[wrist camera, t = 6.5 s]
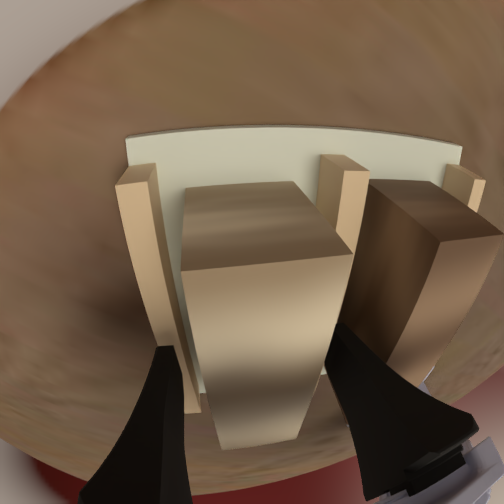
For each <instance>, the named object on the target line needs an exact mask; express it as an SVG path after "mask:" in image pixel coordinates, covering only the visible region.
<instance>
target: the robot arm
mask: <svg viewBox="0 0 504 504" xmlns="http://www.w3.org/2000/svg"><path fill="white" fill-rule="evenodd" d="M324 364H325V367H326V370H327V374H328V377H329V379H330V381H331V384H332V386H333V388H334V391H335V393H336V395H337V397H338V400H339V402H340V404H341V407H342V409H343V411H344V414H345V416H346V419H347V421H348V424H349V425H347V427H349V428H350V431H351V434H352V438H353V442H354V446H355V449H356V453H357V458H358V463H359V467H360V472H361V478H362V485H363V493H364V496H365V499H366V501H369V500H371V499H374V498H376V497H379V501H378V502H376V503H374V504H487V503H488V501H489V499H490V493H491V488H490V487H491V486H492V485H493V484H495V483H496V482H497V481H498V480H499V479H500V478H501V477H502V476H503V475H504V464H503V462H502V460H501V457H500V455H499V453H498V451H497V449H496V447H495V445H494V443H493V441H492V439H491V437H487V438H486V439H485V440H483V441H482V442H481V443H479V444H478V445H477V446H475V447H473V445H472V443H471V442H470V440H468V439H469V438H470V437H471V436H473V435H474V434H475V433H476V432H478V430H479V427H478V425H477V423H476V421H475V420H474V418H473V416H472V415H471V414H469V413H467V412H464V411H461V410H459V409H456V408H454V407H451V406H449V405H447V404H445V403H443V402H441V401H439V400H437V399H435V398H434V397H432V396H431V394H430V393H429V391H428V389H427V387H426V386H425V384H424V380H425V379H426V378H427V376H428V375H429V374H430V372H431V371H432V370H433V368H434V367H433V368H432V369H431V371H430V372H429V373H428V375H427V376H426V378H425V379H424V380H423V381H422V383H421V384H420V385H419V387H418V388H417V387H415V386H414V385H412V384H411V383H410V382H408V381H407V380H405V379H404V378H403V377H401V376H400V375H399V374H398V373H396V372H395V371H394V370H393V369H392V368H390V367H389V366H388V365H387V364H386V363H385V362H384V361H382V360H381V359H380V358H379V357H378V356H377V355H376V354H375V353H374V352H373V351H372V350H371V349H370V348H369V347H368V346H367V345H366V344H365V343H364V342H363V341H362V340H361V339H360V338H359V337H358V336H357V335H356V334H355V333H354V332H353V331H352V330H351V329H350V328H349V327H348V326H347V325H346V324H345V323H344V322H343V323H338V324H336V325H335V328H334V332H333V335H332V338H331V342H330V345H329V348H328V351H327V355H326V358H325V361H324ZM78 504H193V502H192V497H191V491H190V486H189V480H188V473H187V466H186V459H185V450H184V387H183V375H182V371H181V368H180V365H179V362H178V358H177V355H176V352H175V349H174V345H167V346H158V347H157V348H156V351H155V355H154V358H153V362H152V365H151V368H150V371H149V373H148V376H147V379H146V382H145V384H144V387H143V389H142V392H141V394H140V397H139V399H138V401H137V404H136V406H135V408H134V410H133V413H132V415H131V417H130V419H129V421H128V423H127V425H126V426H125V428H124V430H123V432H122V434H121V436H120V437H119V439H118V441H117V442H116V444H115V446H114V447H113V449H112V450H111V452H110V453H109V455H108V456H107V458H106V459H105V461H104V462H103V463H102V465H101V466H100V467H99V469H98V470H97V472H96V473H95V474H94V475H93V477H92V478H91V479H90V480H89V481H88V482H87V484H86V485H85V486H84V487H83V488H82V489H81V491H80V492H79V497H78Z"/></svg>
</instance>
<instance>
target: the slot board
mask: <svg viewBox="0 0 504 504" xmlns="http://www.w3.org/2000/svg"><path fill="white" fill-rule="evenodd" d="M125 140H126V148H127V156H128V164H129V167H128V168H127V169H126V171H125V172H124V174H123V175H122V176H121V178H120V179H119V181H118V182H117V184H116V185H115V188H116V193H117V199H118V204H119V209H120V213H121V218H122V223H123V227H124V232H125V236H126V240H127V244H128V248H129V252H130V256H131V260H132V264H133V268H134V271H135V275H136V279H137V282H138V286H139V289H140V292H141V296H142V299H143V302H144V306H145V309H146V312H147V315H148V318H149V321H150V324H151V327H152V330H153V333H154V336H155V339H156V342H157V345H158V346H167V345H174V349H175V352H176V355H177V358H178V362H179V365H180V368H181V371H182V375H183V387H184V412H185V414H187V413H201V404H200V393H206V390H205V386H204V382H203V378H202V374H201V370H200V366H199V361H198V357H197V352H196V348H195V343H194V339H193V334H192V329H191V325H190V320H189V315H188V310H187V304H186V299H185V294H184V288H183V283H182V277H181V249H182V231H183V216H184V202H185V190H186V188H188V187H200V186H212V185H225V184H240V183H257V182H279V181H294V182H295V183H296V185H297V186H298V187H299V188H300V189H301V190H302V191H303V193H304V194H305V195H306V196H307V197H308V198H309V200H310V201H311V202H312V203H313V204H314V206H315V207H316V208H317V209H318V210H319V212H320V213H321V214H322V215H323V216H324V218H325V219H326V220H327V221H328V222H329V224H330V225H331V226H332V227H333V229H334V230H335V231H336V232H337V234H338V235H339V236H340V237H341V239H342V240H343V241H344V242H345V244H346V245H347V246H348V247H349V249H350V250H351V251H352V253H353V254H354V255H355V250H356V246H357V241H358V237H359V232H360V227H361V222H362V217H363V211H364V206H365V201H366V195H367V189H368V183H369V179H396V180H418V181H430V182H432V183H434V184H435V185H437V186H438V187H440V188H441V189H443V190H445V191H446V192H448V193H449V194H451V195H452V196H454V197H455V198H456V199H458V200H459V201H461V202H462V203H464V204H465V205H467V206H468V207H469V208H471V209H472V210H473V211H475V212H476V213H477V210H478V207H479V204H480V200H481V197H482V193H483V189H484V186H485V182H486V180H484V179H483V178H481V177H479V176H478V175H476V174H474V173H472V172H471V171H469V170H467V169H465V168H463V167H461V166H460V165H459V162H460V157H461V152H462V146H460V145H457V144H455V143H451V142H446V141H441V140H436V139H430V138H425V137H419V136H412V135H406V134H399V133H392V132H384V131H375V130H366V129H355V128H343V127H328V126H307V125H238V126H217V127H202V128H190V129H179V130H169V131H161V132H153V133H145V134H138V135H131V136H128V137H127V138H126V139H125ZM354 255H353V259H354ZM353 259H352V264H353ZM352 264H351V268H352ZM351 268H350V272H351ZM350 272H349V276H350ZM349 276H348V280H349ZM348 280H347V284H348ZM347 284H346V288H347ZM346 288H345V292H346ZM345 292H344V296H345ZM344 296H343V299H344ZM342 303H343V300H342ZM342 303H341V307H342ZM341 307H340V310H341ZM339 314H340V311H339ZM339 314H338V317H339ZM337 321H338V318H337ZM337 321H336V324H337ZM323 374H327V373H326V370H325V368H324V364H323V367H322V370H321V373H320V375H323ZM319 378H320V376H319ZM318 381H319V379H318ZM317 384H318V382H317ZM316 386H317V385H316ZM315 389H316V387H315ZM314 392H315V390H314ZM313 395H314V393H313Z"/></svg>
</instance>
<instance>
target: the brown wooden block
mask: <svg viewBox="0 0 504 504" xmlns="http://www.w3.org/2000/svg"><path fill="white" fill-rule="evenodd" d="M503 237H504V234H503V233H502V232H501V231H500V230H498V229H497V228H496V227H495V226H493V225H492V224H491V223H490V222H488V221H487V220H486V219H484V218H483V217H482V216H480V215H479V214H478V213H476V212H475V211H473V210H472V209H471V208H469V207H468V206H467V205H465V204H464V203H462V202H461V201H459V200H458V199H456V198H455V197H454V196H452V195H451V194H449V193H448V192H446V191H445V190H443V189H441V188H440V187H438V186H437V185H435V184H434V183H432V182H430V181H418V180H396V179H369V183H368V189H367V195H366V201H365V206H364V211H363V217H362V222H361V227H360V232H359V237H358V241H357V246H356V250H355V255H354V259H353V264H352V268H351V272H350V276H349V280H348V284H347V288H346V292H345V296H344V299H343V303H342V307H341V310H340V314H339V317H338V321H337V324H338V323H343V322H344V323H345V324H346V325H347V326H348V327H349V328H350V329H351V330H352V331H353V332H354V333H355V334H356V335H357V336H358V337H359V338H360V339H361V340H362V341H363V342H364V343H365V344H366V345H367V346H368V347H369V348H370V349H371V350H372V351H373V352H374V353H375V354H376V355H377V356H378V357H379V358H380V359H381V360H382V361H384V362H385V363H386V364H387V365H388V366H389V367H390V368H392V369H393V370H394V371H395V372H396V373H398V374H399V375H400V376H401V377H403V378H404V379H405V380H407V381H408V382H410V383H411V384H412V385H414V386H415V387H417V388H418V387H419V385H420V384H421V383H422V381H423V380H424V379H425V378H426V376H427V375H428V373H429V372H430V371H431V369H432V368H433V367H434V365H435V364H436V362H437V361H438V359H439V358H440V357H441V355H442V354H443V352H444V351H445V349H446V348H447V346H448V345H449V343H450V341H451V340H452V338H453V337H454V335H455V333H456V332H457V330H458V329H459V327H460V325H461V324H462V322H463V320H464V318H465V317H466V315H467V313H468V311H469V310H470V308H471V306H472V304H473V302H474V300H475V298H476V297H477V295H478V293H479V291H480V289H481V287H482V285H483V283H484V281H485V279H486V276H487V274H488V272H489V270H490V268H491V266H492V263H493V261H494V259H495V256H496V254H497V252H498V249H499V247H500V244H501V242H502V239H503ZM324 368H325V370H326V367H325V364H324ZM326 373H327V370H326ZM327 375H328V374H327ZM328 378H329V377H328ZM329 380H330V379H329ZM330 383H331V381H330ZM331 385H332V384H331ZM332 388H333V386H332ZM333 390H334V388H333ZM334 393H335V391H334ZM335 395H336V393H335ZM336 398H337V400H338V397H337V395H336ZM338 403H339V405H340V408H341V410H342V413H343V415H344V418H345V420H346V423H347V425H349V424H348V421H347V419H346V416H345V414H344V411H343V409H342V407H341V404H340V402H339V400H338Z"/></svg>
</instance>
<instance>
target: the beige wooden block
mask: <svg viewBox="0 0 504 504" xmlns="http://www.w3.org/2000/svg"><path fill="white" fill-rule="evenodd" d="M353 255H354V254H353V253H352V251H351V250H350V249H349V247H348V246H347V245H346V244H345V242H344V241H343V240H342V239H341V237H340V236H339V235H338V234H337V232H336V231H335V230H334V229H333V227H332V226H331V225H330V224H329V222H328V221H327V220H326V219H325V218H324V216H323V215H322V214H321V213H320V212H319V210H318V209H317V208H316V207H315V206H314V204H313V203H312V202H311V201H310V200H309V198H308V197H307V196H306V195H305V194H304V193H303V191H302V190H301V189H300V188H299V187H298V186H297V185H296V183H295V182H294V181H279V182H257V183H240V184H225V185H212V186H200V187H188V188H186V190H185V202H184V216H183V231H182V249H181V277H182V283H183V288H184V294H185V299H186V304H187V310H188V315H189V320H190V325H191V329H192V334H193V339H194V343H195V348H196V352H197V357H198V361H199V366H200V370H201V374H202V378H203V382H204V386H205V390H206V394H207V398H208V402H209V406H210V409H211V413H212V417H213V420H214V424H215V428H216V431H217V435H218V438H219V442H220V445H221V448H222V450H230V449H238V448H246V447H253V446H259V445H265V444H271V443H277V442H282V441H287V440H292V439H296V437H297V435H298V432H299V430H300V427H301V425H302V422H303V420H304V417H305V415H306V412H307V409H308V407H309V404H310V401H311V399H312V396H313V393H314V390H315V387H316V385H317V382H318V379H319V376H320V373H321V370H322V367H323V364H324V361H325V358H326V355H327V351H328V348H329V345H330V342H331V338H332V335H333V332H334V328H335V325H336V321H337V318H338V314H339V311H340V307H341V303H342V300H343V296H344V292H345V288H346V284H347V280H348V276H349V272H350V268H351V264H352V259H353Z"/></svg>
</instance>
